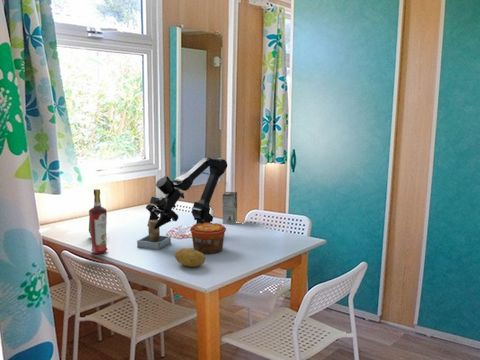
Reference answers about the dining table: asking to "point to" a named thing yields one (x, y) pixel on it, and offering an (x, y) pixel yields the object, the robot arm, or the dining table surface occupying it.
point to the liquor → (98, 225)
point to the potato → (189, 257)
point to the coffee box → (229, 207)
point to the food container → (208, 237)
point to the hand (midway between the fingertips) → (151, 227)
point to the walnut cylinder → (153, 231)
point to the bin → (154, 245)
